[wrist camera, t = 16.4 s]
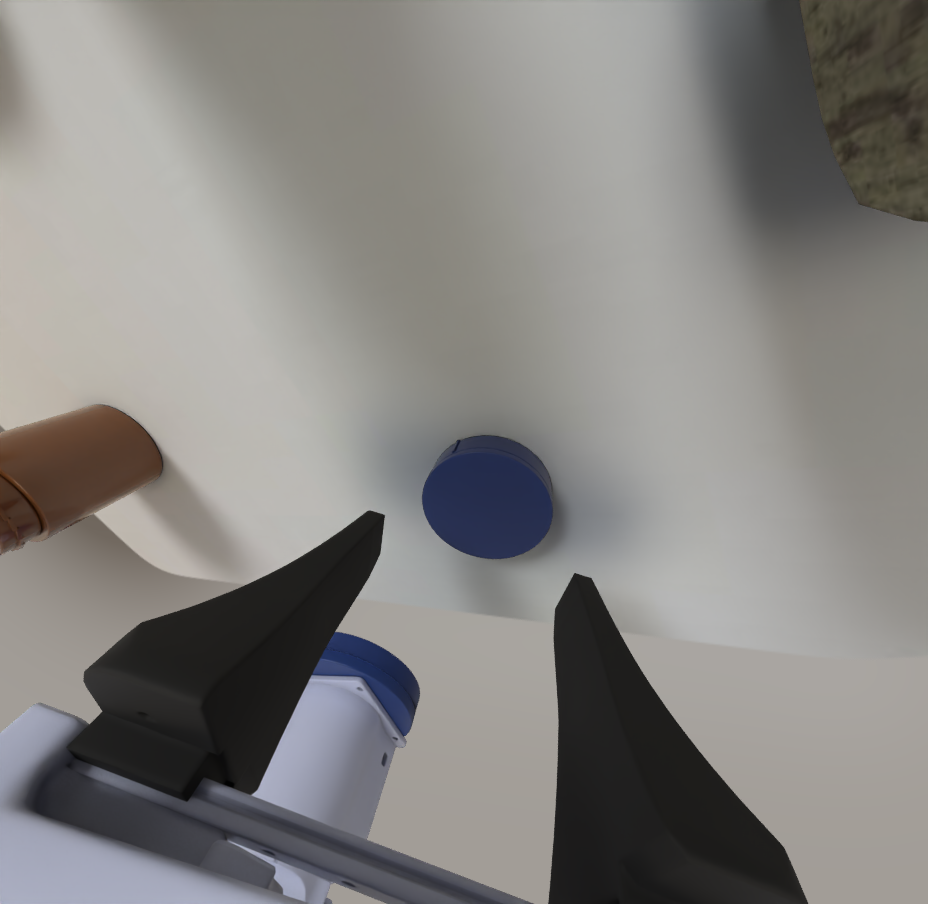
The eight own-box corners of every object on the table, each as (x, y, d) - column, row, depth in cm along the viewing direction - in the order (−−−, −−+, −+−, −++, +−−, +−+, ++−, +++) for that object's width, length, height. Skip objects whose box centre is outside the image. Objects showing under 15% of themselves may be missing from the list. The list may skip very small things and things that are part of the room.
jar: (179, 473, 20) (29, 556, 14) (127, 489, 22) (-25, 568, 16) (116, 393, 18) (-87, 451, 13) (65, 417, 20) (-135, 478, 14)
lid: (409, 461, 17) (396, 479, 15) (516, 412, 14) (513, 427, 13) (469, 548, 19) (462, 571, 17) (572, 516, 16) (575, 540, 15)
